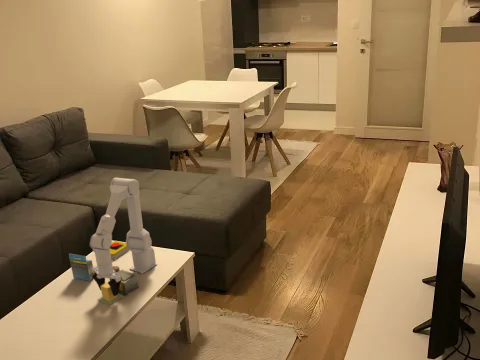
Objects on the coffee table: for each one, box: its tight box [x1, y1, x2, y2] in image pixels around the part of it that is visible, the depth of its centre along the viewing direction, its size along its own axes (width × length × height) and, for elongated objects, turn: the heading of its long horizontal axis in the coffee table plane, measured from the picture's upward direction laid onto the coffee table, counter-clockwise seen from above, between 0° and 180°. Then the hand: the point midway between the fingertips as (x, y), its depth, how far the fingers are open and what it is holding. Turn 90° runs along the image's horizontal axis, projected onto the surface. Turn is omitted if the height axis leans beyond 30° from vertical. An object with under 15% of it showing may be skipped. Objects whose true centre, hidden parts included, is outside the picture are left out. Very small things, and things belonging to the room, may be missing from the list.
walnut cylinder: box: [113, 265, 121, 273], centre depth 219 cm, size 4×4×6 cm
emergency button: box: [110, 240, 130, 262], centre depth 243 cm, size 9×4×15 cm
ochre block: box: [100, 280, 117, 302], centre depth 207 cm, size 4×4×6 cm
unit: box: [108, 269, 140, 297], centre depth 213 cm, size 7×9×6 cm
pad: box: [97, 293, 124, 306], centre depth 208 cm, size 7×7×1 cm
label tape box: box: [68, 253, 95, 282], centre depth 222 cm, size 9×4×12 cm, turn 70°
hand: (109, 292), depth 207 cm, fingers open, 7 cm apart
